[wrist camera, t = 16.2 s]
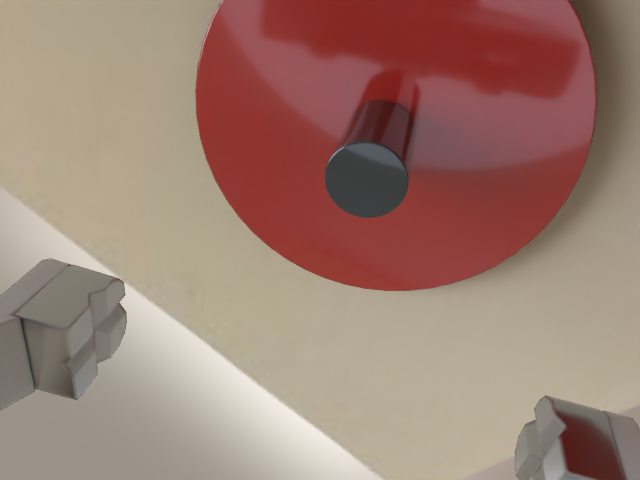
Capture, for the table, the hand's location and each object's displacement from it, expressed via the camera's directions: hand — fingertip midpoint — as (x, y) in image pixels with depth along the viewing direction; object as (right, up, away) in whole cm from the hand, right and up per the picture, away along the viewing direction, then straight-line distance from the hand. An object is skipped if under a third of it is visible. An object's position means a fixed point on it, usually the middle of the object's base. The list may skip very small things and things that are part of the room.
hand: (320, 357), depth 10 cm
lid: (+2, +6, +10) cm, 12 cm away
